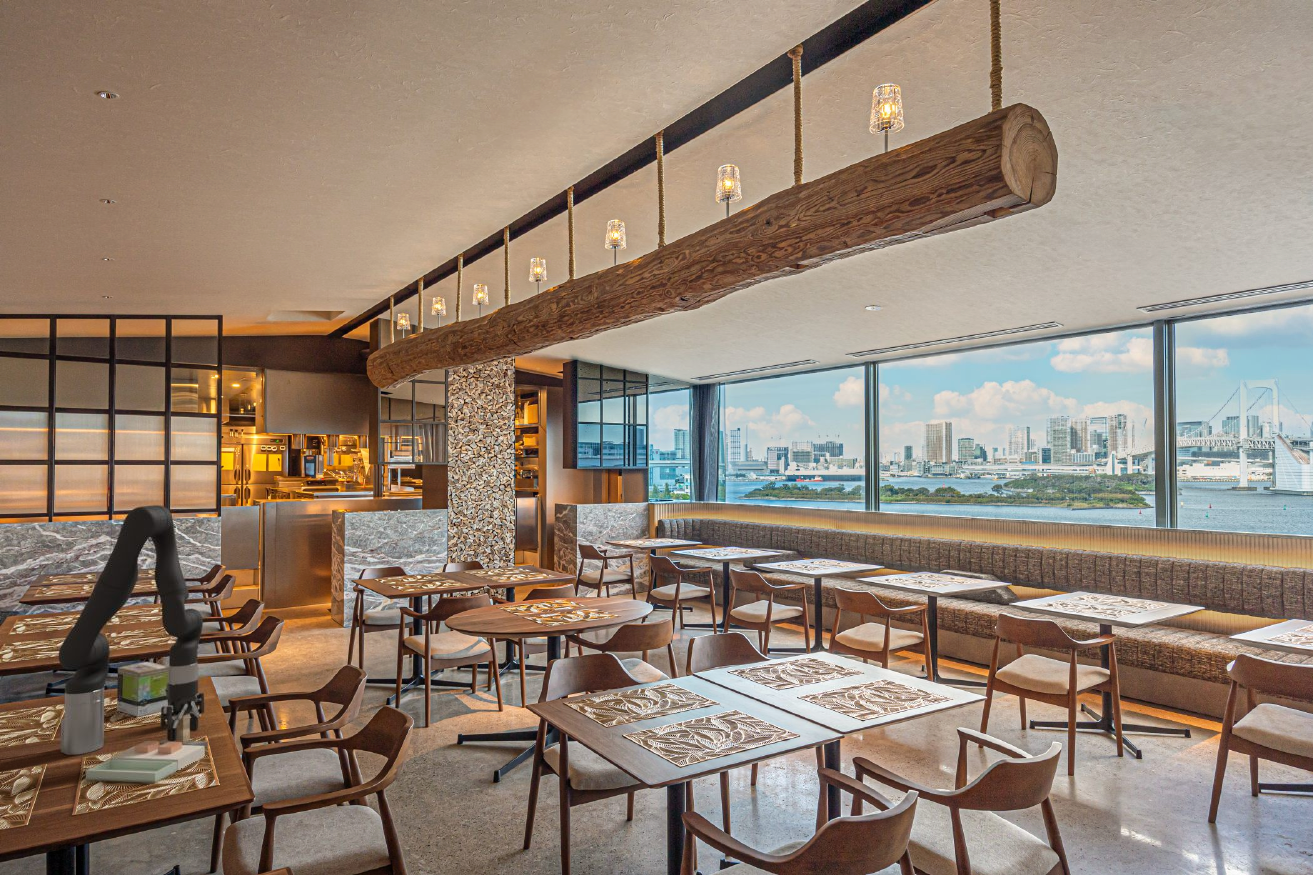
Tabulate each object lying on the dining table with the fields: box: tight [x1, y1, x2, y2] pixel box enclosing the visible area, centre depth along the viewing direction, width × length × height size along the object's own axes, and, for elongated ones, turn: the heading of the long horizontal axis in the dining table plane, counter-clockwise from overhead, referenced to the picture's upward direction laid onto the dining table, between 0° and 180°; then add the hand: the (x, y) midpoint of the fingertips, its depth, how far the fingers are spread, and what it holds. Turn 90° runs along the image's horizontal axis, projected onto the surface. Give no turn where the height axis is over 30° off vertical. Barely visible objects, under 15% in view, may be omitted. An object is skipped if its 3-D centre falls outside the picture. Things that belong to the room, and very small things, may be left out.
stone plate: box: [110, 744, 206, 771], centre depth 208 cm, size 20×10×3 cm, turn 83°
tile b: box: [158, 742, 182, 754], centre depth 209 cm, size 4×4×2 cm
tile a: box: [134, 740, 160, 753], centre depth 209 cm, size 4×4×2 cm
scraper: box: [159, 713, 208, 750], centre depth 219 cm, size 14×2×10 cm, turn 83°
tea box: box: [116, 661, 169, 718], centre depth 255 cm, size 15×10×15 cm
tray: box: [85, 758, 178, 784], centre depth 199 cm, size 20×8×2 cm, turn 83°
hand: (182, 735), depth 218 cm, fingers open, 8 cm apart
